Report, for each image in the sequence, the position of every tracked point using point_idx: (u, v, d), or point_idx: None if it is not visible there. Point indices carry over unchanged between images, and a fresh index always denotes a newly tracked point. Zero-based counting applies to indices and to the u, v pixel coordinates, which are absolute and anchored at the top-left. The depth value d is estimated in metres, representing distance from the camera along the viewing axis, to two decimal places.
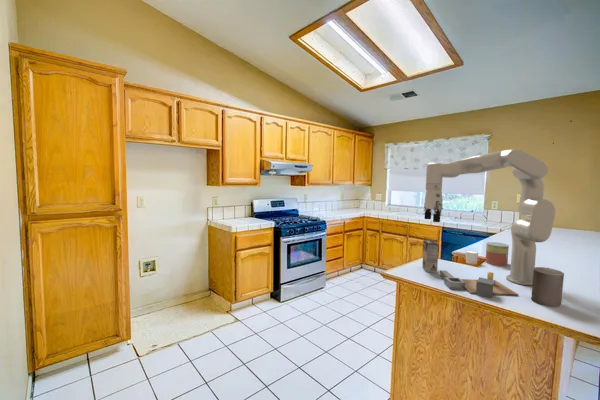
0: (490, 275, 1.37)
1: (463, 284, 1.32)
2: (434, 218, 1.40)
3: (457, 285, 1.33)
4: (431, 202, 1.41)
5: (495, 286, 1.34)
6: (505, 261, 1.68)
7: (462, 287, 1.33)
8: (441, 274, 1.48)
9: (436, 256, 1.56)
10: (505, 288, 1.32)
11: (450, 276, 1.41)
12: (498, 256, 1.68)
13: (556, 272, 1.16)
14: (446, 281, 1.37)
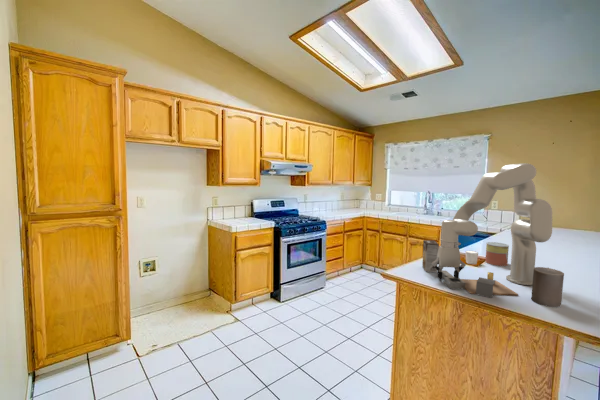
0: (490, 275, 1.37)
1: (463, 284, 1.32)
2: (457, 276, 1.42)
3: (457, 285, 1.33)
4: (457, 260, 1.41)
5: (495, 286, 1.34)
6: (505, 261, 1.68)
7: (462, 287, 1.33)
8: None
9: (436, 256, 1.56)
10: (505, 288, 1.32)
11: (450, 276, 1.41)
12: (498, 256, 1.68)
13: (556, 272, 1.16)
14: (446, 281, 1.37)
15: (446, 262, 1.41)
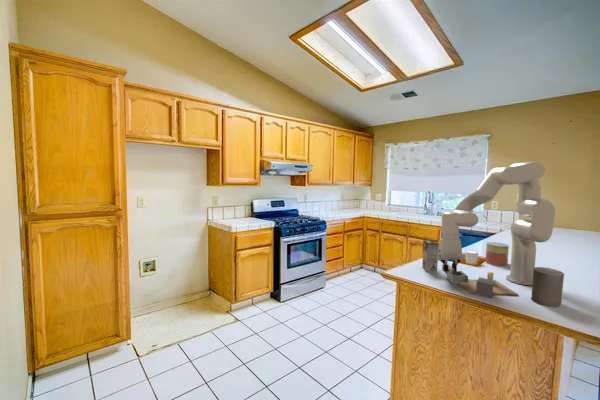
0: (490, 275, 1.37)
1: (466, 277, 1.32)
2: (455, 269, 1.42)
3: (460, 279, 1.32)
4: (458, 252, 1.40)
5: (495, 286, 1.34)
6: (505, 261, 1.68)
7: (465, 280, 1.32)
8: (443, 268, 1.48)
9: (436, 256, 1.56)
10: (505, 288, 1.32)
11: (452, 270, 1.40)
12: (498, 256, 1.68)
13: (556, 272, 1.16)
14: (449, 275, 1.37)
15: (448, 254, 1.41)
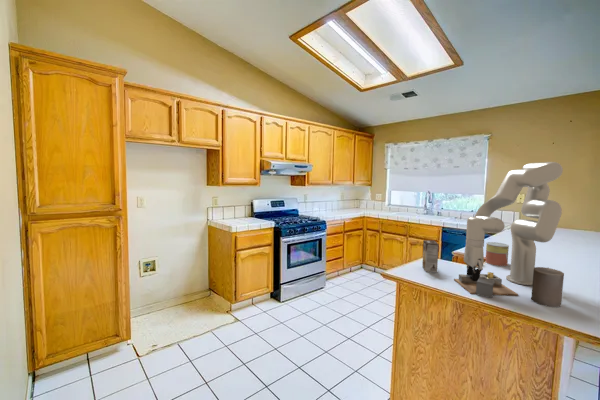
0: (490, 275, 1.37)
1: None
2: None
3: None
4: None
5: (495, 286, 1.34)
6: (505, 261, 1.68)
7: None
8: (465, 279, 1.38)
9: (436, 256, 1.56)
10: (505, 288, 1.32)
11: (480, 276, 1.39)
12: (498, 256, 1.68)
13: (556, 272, 1.16)
14: None
15: None
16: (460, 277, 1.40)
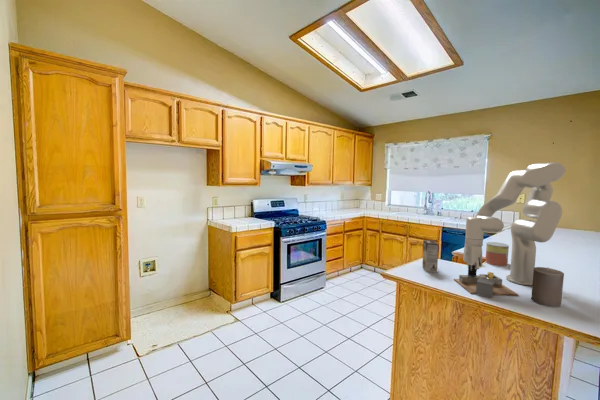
0: (490, 275, 1.37)
1: None
2: None
3: None
4: None
5: (495, 286, 1.34)
6: (505, 261, 1.68)
7: None
8: (466, 280, 1.38)
9: (436, 256, 1.56)
10: (505, 288, 1.32)
11: (480, 276, 1.38)
12: (498, 256, 1.68)
13: (556, 272, 1.16)
14: None
15: None
16: (461, 278, 1.39)
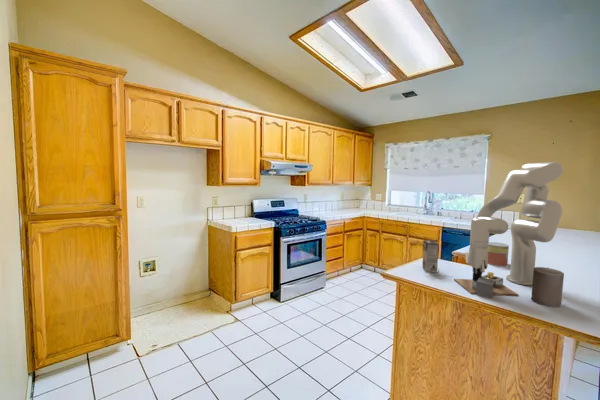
0: (490, 275, 1.37)
1: None
2: None
3: None
4: None
5: None
6: (505, 261, 1.68)
7: None
8: None
9: (436, 256, 1.56)
10: (505, 288, 1.32)
11: None
12: (498, 256, 1.68)
13: (556, 272, 1.16)
14: (498, 282, 1.34)
15: None
16: None
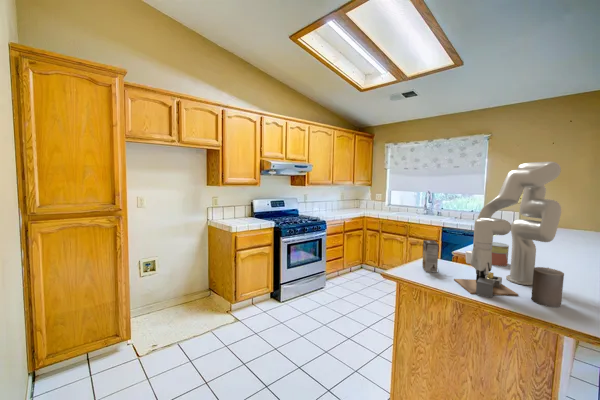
0: (490, 275, 1.37)
1: None
2: None
3: None
4: None
5: None
6: (505, 261, 1.68)
7: None
8: None
9: (436, 256, 1.56)
10: (505, 288, 1.32)
11: None
12: (498, 256, 1.68)
13: (556, 272, 1.16)
14: (500, 282, 1.34)
15: None
16: None
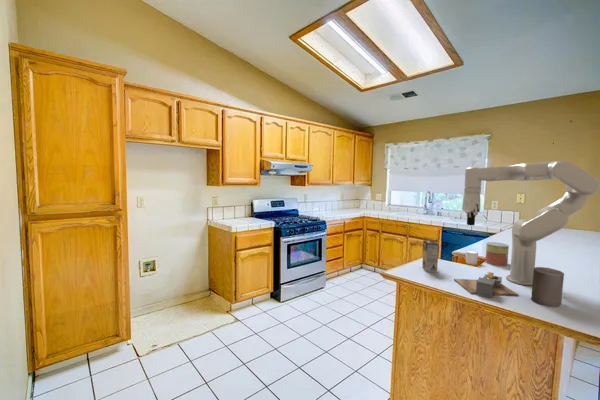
0: (490, 275, 1.37)
1: None
2: None
3: None
4: None
5: None
6: (505, 261, 1.68)
7: None
8: None
9: (436, 256, 1.56)
10: (505, 288, 1.32)
11: None
12: (498, 256, 1.68)
13: (556, 272, 1.16)
14: (500, 282, 1.35)
15: None
16: None
